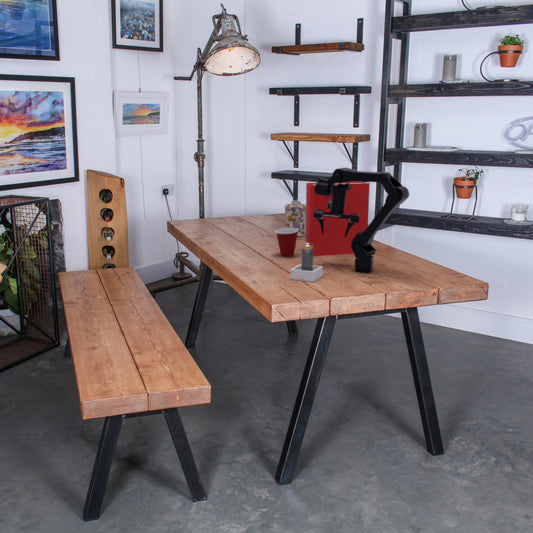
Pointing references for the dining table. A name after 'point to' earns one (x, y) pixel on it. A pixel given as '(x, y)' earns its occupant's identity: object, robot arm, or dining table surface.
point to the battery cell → (307, 257)
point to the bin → (306, 274)
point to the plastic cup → (287, 241)
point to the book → (336, 220)
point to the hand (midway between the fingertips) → (333, 235)
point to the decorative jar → (296, 217)
